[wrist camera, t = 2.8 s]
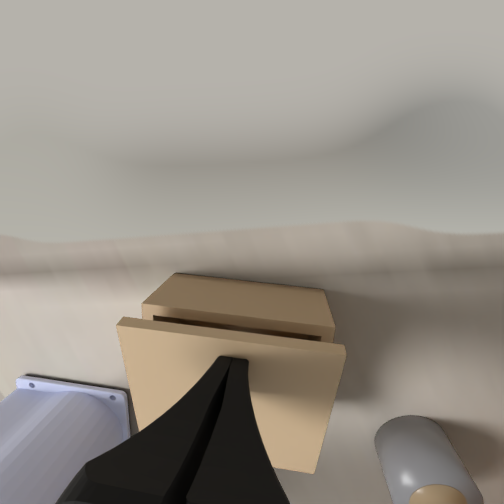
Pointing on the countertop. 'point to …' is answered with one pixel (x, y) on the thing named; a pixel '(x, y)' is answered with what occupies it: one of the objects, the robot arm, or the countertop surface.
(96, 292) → the countertop surface
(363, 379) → the countertop surface
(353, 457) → the countertop surface
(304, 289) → the box
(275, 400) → the lid
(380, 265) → the countertop surface
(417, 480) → the grey rounded cylinder
